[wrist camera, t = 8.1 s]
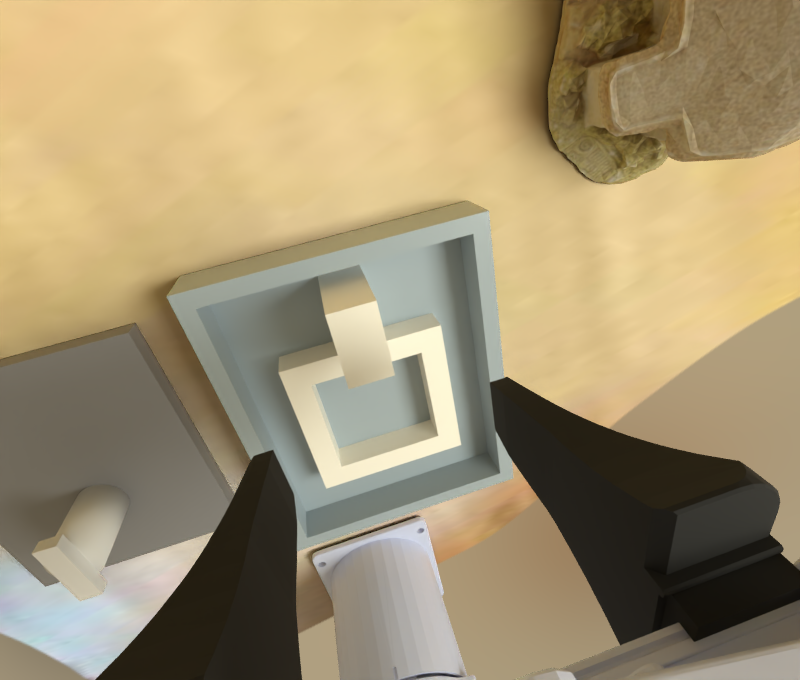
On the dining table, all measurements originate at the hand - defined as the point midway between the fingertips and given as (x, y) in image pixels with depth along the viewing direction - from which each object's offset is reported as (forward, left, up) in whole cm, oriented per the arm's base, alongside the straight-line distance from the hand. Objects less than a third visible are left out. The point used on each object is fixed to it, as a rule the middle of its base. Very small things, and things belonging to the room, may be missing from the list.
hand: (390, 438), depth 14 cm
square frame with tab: (-3, 0, -9) cm, 9 cm away
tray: (-4, 0, -9) cm, 10 cm away
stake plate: (-4, +15, -9) cm, 18 cm away
